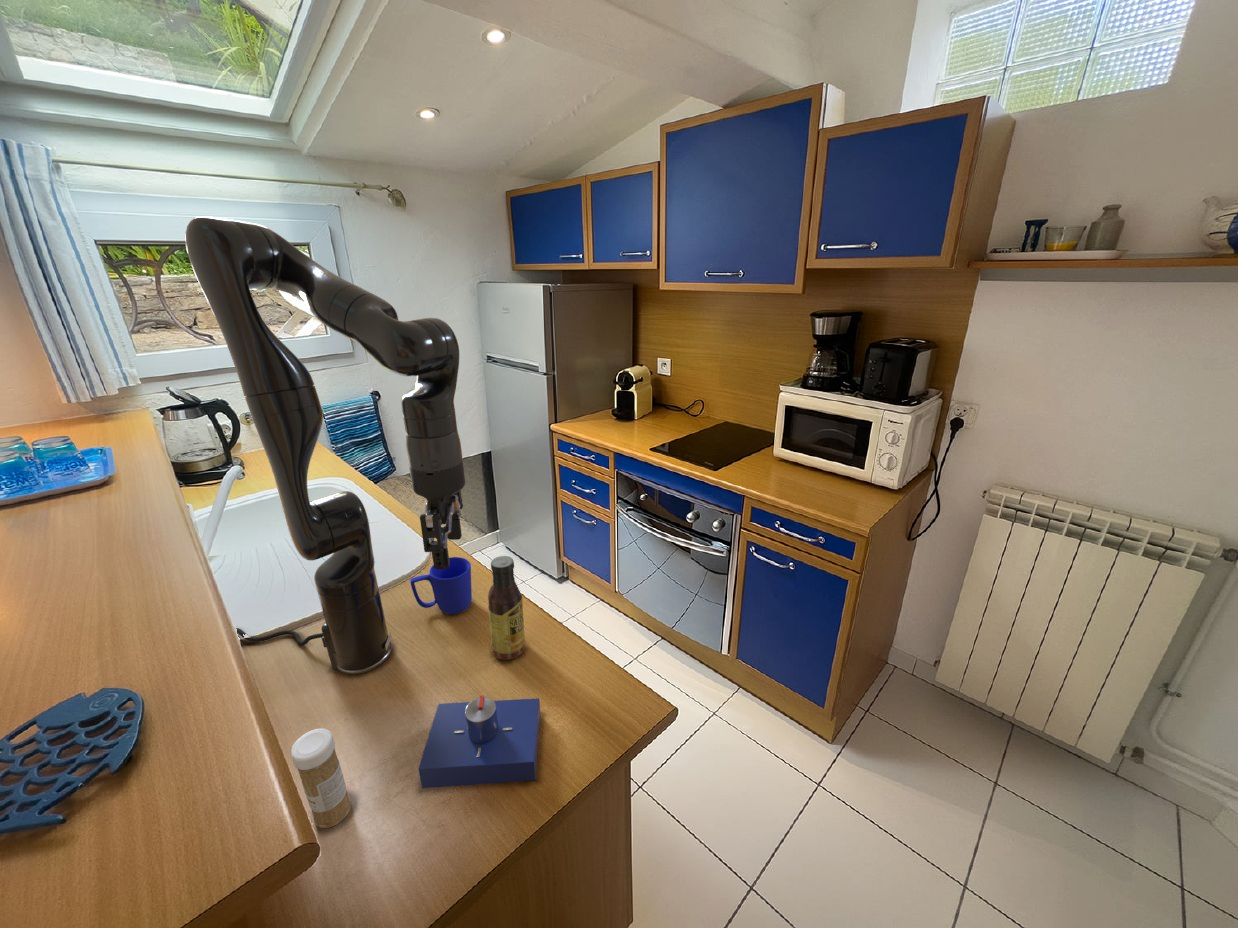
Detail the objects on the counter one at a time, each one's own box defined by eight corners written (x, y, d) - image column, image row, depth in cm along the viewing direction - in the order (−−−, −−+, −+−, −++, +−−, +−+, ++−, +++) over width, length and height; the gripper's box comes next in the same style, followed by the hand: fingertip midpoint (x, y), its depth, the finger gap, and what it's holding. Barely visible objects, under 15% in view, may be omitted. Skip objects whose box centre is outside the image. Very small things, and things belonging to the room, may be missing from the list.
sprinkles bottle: (308, 813, 67) (284, 744, 62) (343, 788, 70) (323, 720, 65) (322, 837, 64) (298, 766, 59) (358, 810, 67) (338, 740, 62)
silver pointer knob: (497, 741, 73) (494, 718, 71) (466, 745, 72) (462, 721, 70) (499, 716, 77) (496, 693, 75) (470, 719, 76) (467, 696, 74)
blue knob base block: (422, 788, 70) (417, 768, 68) (441, 721, 80) (438, 702, 79) (535, 780, 71) (533, 760, 70) (540, 715, 81) (539, 697, 80)
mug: (415, 604, 107) (408, 565, 103) (472, 590, 112) (467, 553, 108) (417, 628, 100) (410, 587, 96) (478, 613, 105) (473, 573, 101)
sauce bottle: (518, 664, 92) (510, 575, 84) (486, 659, 93) (476, 570, 85) (530, 640, 98) (524, 554, 90) (501, 635, 99) (492, 550, 91)
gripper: (423, 443, 79) (436, 530, 85) (393, 479, 66) (411, 580, 72) (471, 442, 80) (480, 529, 86) (450, 478, 67) (463, 578, 73)
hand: (448, 552), depth 79 cm, fingers open, 8 cm apart
